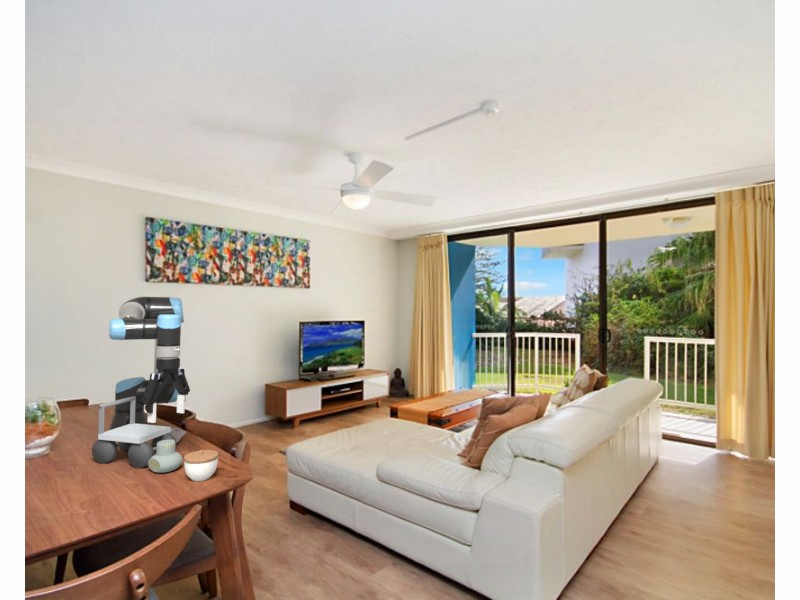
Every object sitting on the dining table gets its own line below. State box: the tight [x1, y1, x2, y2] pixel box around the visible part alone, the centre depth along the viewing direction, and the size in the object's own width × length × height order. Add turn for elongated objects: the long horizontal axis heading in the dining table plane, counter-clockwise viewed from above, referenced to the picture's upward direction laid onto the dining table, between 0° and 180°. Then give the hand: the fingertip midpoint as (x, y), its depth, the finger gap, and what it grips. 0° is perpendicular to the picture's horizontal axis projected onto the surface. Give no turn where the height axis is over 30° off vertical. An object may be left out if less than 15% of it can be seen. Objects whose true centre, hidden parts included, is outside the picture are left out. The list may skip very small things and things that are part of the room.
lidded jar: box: [183, 449, 219, 482], centre depth 147 cm, size 11×11×9 cm
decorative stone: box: [152, 427, 187, 444], centre depth 184 cm, size 13×10×6 cm
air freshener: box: [147, 440, 184, 474], centre depth 153 cm, size 11×8×10 cm
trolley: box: [91, 396, 177, 469], centre depth 163 cm, size 15×25×22 cm, turn 77°
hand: (166, 417), depth 153 cm, fingers open, 13 cm apart
